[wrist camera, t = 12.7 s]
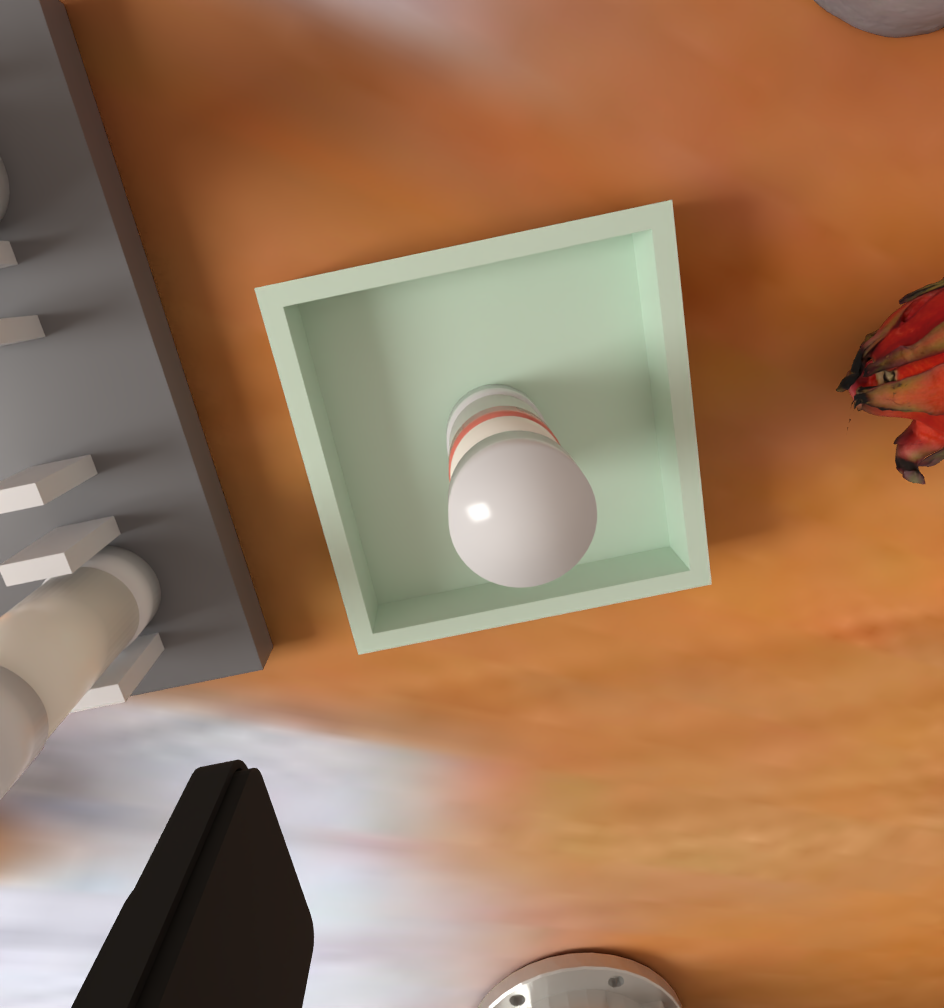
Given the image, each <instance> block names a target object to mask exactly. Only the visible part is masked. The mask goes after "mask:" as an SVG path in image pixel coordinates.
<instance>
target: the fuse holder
mask: <svg viewBox="0 0 944 1008" xmlns="http://www.w3.org/2000/svg"><path fill="white" fill-rule="evenodd" d="M0 157H1V159H2V161H3V164H4V166H5V169H6V172H7V175H8V180H9V190H10V193H9V202H8V207H7V210H6V213H5V215H4V217H3V219H2V220H1V222H0V617H1V616H3V615H4V614H5V613H6V612H8V611H9V610H10V609H12V608H13V607H14V606H15V605H17V604H18V603H19V602H21V601H22V600H23V599H24V598H26V597H27V596H28V595H30V594H31V593H32V592H33V591H35V590H36V589H37V588H39V587H40V586H41V585H42V584H43V582H44V581H45V580H46V579H47V578H51V577H56V576H61V575H66V574H71V573H73V572H74V571H76V570H77V569H78V568H79V567H81V566H82V565H83V564H84V563H85V562H87V561H88V560H89V559H90V558H92V557H93V556H94V555H95V554H97V553H98V552H99V551H100V550H101V549H103V548H104V547H105V546H106V545H108V546H116V547H120V548H123V549H126V550H129V551H131V552H133V553H135V554H136V555H138V556H139V557H141V558H142V559H143V560H144V561H145V562H146V563H147V564H148V565H149V566H150V567H151V568H152V569H153V571H154V573H155V574H156V576H157V578H158V581H159V584H160V588H161V602H160V606H159V609H158V611H157V613H156V614H155V616H154V617H153V619H152V620H151V621H150V622H149V623H148V625H147V626H146V627H145V628H144V629H143V631H142V632H141V633H140V634H139V635H138V637H137V638H136V639H135V640H134V641H133V642H132V643H131V644H130V645H129V646H128V647H127V648H126V649H124V650H122V651H121V653H120V654H119V655H118V656H117V657H116V659H115V660H114V661H113V662H112V663H111V664H110V666H109V667H108V668H107V669H106V670H105V672H104V673H103V674H102V675H101V676H100V677H99V679H98V680H97V681H96V682H95V683H94V685H93V686H92V687H91V688H90V689H89V690H88V692H87V693H86V694H85V695H84V696H83V698H82V699H81V700H80V701H79V702H78V703H77V705H76V706H75V707H74V708H73V709H72V710H71V712H70V713H73V712H78V711H83V710H88V709H93V708H98V707H103V706H108V705H113V704H118V703H123V702H126V700H127V699H128V698H129V696H133V695H138V694H143V693H148V692H153V691H158V690H163V689H168V688H173V687H179V686H184V685H189V684H194V683H199V682H204V681H209V680H214V679H219V678H224V677H229V676H234V675H239V674H244V673H249V672H254V671H259V670H263V669H264V666H265V664H266V662H267V660H268V657H269V655H270V653H271V651H272V649H273V644H272V641H271V638H270V635H269V632H268V629H267V626H266V623H265V620H264V617H263V614H262V611H261V608H260V605H259V601H258V598H257V595H256V592H255V589H254V586H253V583H252V580H251V577H250V574H249V571H248V568H247V565H246V562H245V559H244V555H243V552H242V549H241V546H240V543H239V540H238V537H237V534H236V531H235V528H234V525H233V522H232V519H231V516H230V512H229V509H228V506H227V503H226V500H225V497H224V494H223V491H222V488H221V485H220V482H219V479H218V476H217V473H216V470H215V466H214V463H213V460H212V457H211V454H210V451H209V448H208V445H207V442H206V439H205V436H204V433H203V430H202V427H201V424H200V420H199V417H198V414H197V411H196V408H195V405H194V402H193V399H192V396H191V393H190V390H189V387H188V384H187V381H186V378H185V374H184V371H183V368H182V365H181V362H180V359H179V356H178V353H177V350H176V347H175V344H174V341H173V338H172V335H171V331H170V328H169V325H168V322H167V319H166V316H165V313H164V310H163V307H162V304H161V301H160V298H159V295H158V292H157V289H156V285H155V282H154V279H153V276H152V273H151V270H150V267H149V264H148V261H147V258H146V255H145V252H144V249H143V246H142V243H141V239H140V236H139V233H138V230H137V227H136V224H135V221H134V218H133V215H132V212H131V209H130V206H129V203H128V200H127V197H126V193H125V190H124V187H123V184H122V181H121V178H120V175H119V172H118V169H117V166H116V163H115V160H114V157H113V154H112V150H111V147H110V144H109V141H108V138H107V135H106V132H105V129H104V126H103V123H102V120H101V117H100V114H99V111H98V108H97V104H96V101H95V98H94V95H93V92H92V89H91V86H90V83H89V80H88V77H87V74H86V71H85V68H84V65H83V62H82V58H81V55H80V52H79V49H78V46H77V43H76V40H75V37H74V34H73V31H72V28H71V25H70V22H69V19H68V15H67V12H66V9H65V6H64V4H63V3H61V2H60V1H59V0H0Z"/></svg>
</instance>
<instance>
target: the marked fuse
mask: <svg viewBox="0 0 944 1008" xmlns="http://www.w3.org/2000/svg"><path fill="white" fill-rule="evenodd" d="M446 439H447V452H448V456H449V457H448V459H449V481H450V484H449V490H448V519H449V531H450V536H451V539H452V542H453V545H454V547H455V549H456V551H457V553H458V554H459V556H460V558H461V559H462V560H463V561H464V563H465V564H466V565H467V566H468V567H469V568H470V569H471V570H472V571H473V572H475V573H476V574H478V575H479V576H481V577H482V578H484V579H486V580H488V581H490V582H493V583H496V584H498V585H503V586H507V587H516V588H523V587H533V586H538V585H542V584H545V583H548V582H551V581H553V580H555V579H557V578H559V577H561V576H562V575H564V574H565V573H567V572H568V571H569V570H571V569H572V568H573V567H574V566H575V565H576V564H577V563H578V562H579V561H580V560H581V558H582V557H583V556H584V554H585V553H586V551H587V550H588V548H589V546H590V544H591V542H592V539H593V536H594V534H595V530H596V524H597V504H596V500H595V496H594V493H593V490H592V488H591V486H590V484H589V482H588V480H587V478H586V477H585V476H584V474H583V473H582V471H581V470H580V468H579V467H578V466H577V464H576V463H575V461H574V460H573V459H572V457H571V456H570V455H569V453H568V452H567V451H566V450H565V449H564V448H563V447H562V446H561V445H560V443H559V442H558V440H557V438H556V437H555V436H554V434H553V433H552V431H551V430H550V428H549V427H548V426H547V424H546V422H545V420H544V418H543V416H542V414H541V413H540V412H539V410H538V409H537V407H536V406H535V405H534V403H533V402H532V401H531V399H530V398H529V397H528V396H527V395H525V394H524V393H523V392H521V391H519V390H518V389H516V388H513V387H511V386H507V385H502V384H488V385H483V386H480V387H477V388H475V389H473V390H471V391H469V392H467V393H466V394H465V395H464V396H462V397H461V398H460V399H459V400H458V402H457V403H456V404H455V406H454V407H453V409H452V411H451V413H450V415H449V418H448V422H447V428H446Z"/></svg>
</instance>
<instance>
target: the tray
mask: <svg viewBox="0 0 944 1008" xmlns="http://www.w3.org/2000/svg"><path fill="white" fill-rule="evenodd" d="M254 289H255V293H256V296H257V300H258V303H259V307H260V310H261V314H262V317H263V321H264V324H265V328H266V331H267V335H268V338H269V342H270V345H271V349H272V352H273V356H274V359H275V363H276V366H277V370H278V373H279V377H280V380H281V384H282V388H283V391H284V395H285V398H286V402H287V405H288V409H289V412H290V416H291V419H292V423H293V426H294V430H295V433H296V437H297V440H298V444H299V447H300V451H301V454H302V458H303V461H304V465H305V468H306V472H307V475H308V479H309V482H310V486H311V490H312V493H313V497H314V500H315V504H316V507H317V511H318V514H319V518H320V521H321V525H322V528H323V532H324V535H325V539H326V542H327V546H328V549H329V553H330V556H331V560H332V563H333V567H334V570H335V574H336V577H337V581H338V585H339V588H340V592H341V595H342V599H343V602H344V606H345V609H346V613H347V616H348V620H349V623H350V627H351V630H352V634H353V637H354V641H355V644H356V648H357V651H358V655H360V654H365V653H370V652H375V651H380V650H385V649H390V648H395V647H400V646H405V645H410V644H415V643H420V642H425V641H430V640H435V639H440V638H445V637H450V636H455V635H460V634H465V633H470V632H475V631H480V630H485V629H490V628H495V627H500V626H505V625H510V624H515V623H520V622H525V621H530V620H535V619H540V618H545V617H550V616H555V615H560V614H565V613H570V612H575V611H580V610H585V609H590V608H595V607H600V606H605V605H610V604H615V603H620V602H625V601H630V600H635V599H640V598H645V597H650V596H655V595H660V594H665V593H670V592H675V591H680V590H685V589H690V588H695V587H700V586H705V585H710V584H711V574H710V564H709V555H708V545H707V535H706V525H705V516H704V506H703V496H702V486H701V477H700V467H699V457H698V447H697V438H696V428H695V418H694V408H693V399H692V389H691V379H690V369H689V360H688V350H687V340H686V330H685V321H684V311H683V301H682V291H681V282H680V272H679V262H678V252H677V243H676V233H675V223H674V213H673V204H672V200H669V201H664V202H659V203H655V204H650V205H645V206H641V207H636V208H631V209H626V210H622V211H617V212H612V213H607V214H603V215H598V216H593V217H589V218H584V219H579V220H574V221H570V222H565V223H560V224H556V225H551V226H546V227H541V228H537V229H532V230H527V231H522V232H518V233H513V234H508V235H504V236H499V237H494V238H489V239H485V240H480V241H475V242H471V243H466V244H461V245H456V246H452V247H447V248H442V249H437V250H433V251H428V252H423V253H419V254H414V255H409V256H404V257H400V258H395V259H390V260H386V261H381V262H376V263H371V264H367V265H362V266H357V267H352V268H348V269H343V270H338V271H334V272H329V273H324V274H319V275H315V276H310V277H305V278H301V279H296V280H291V281H286V282H282V283H277V284H272V285H267V286H263V287H258V288H254ZM488 384H502V385H507V386H511V387H513V388H516V389H518V390H519V391H521V392H523V393H524V394H525V395H527V396H528V397H529V398H530V399H531V401H532V402H533V403H534V405H535V406H536V407H537V409H538V410H539V412H540V413H541V414H542V416H543V418H544V420H545V422H546V424H547V426H548V427H549V428H550V430H551V431H552V433H553V434H554V436H555V437H556V438H557V440H558V442H559V443H560V445H561V446H562V447H563V448H564V449H565V450H566V451H567V452H568V453H569V455H570V456H571V457H572V459H573V460H574V461H575V463H576V464H577V466H578V467H579V468H580V470H581V471H582V473H583V474H584V476H585V477H586V478H587V480H588V482H589V484H590V486H591V488H592V490H593V493H594V496H595V500H596V504H597V524H596V530H595V534H594V536H593V539H592V542H591V544H590V546H589V548H588V550H587V551H586V553H585V554H584V556H583V557H582V558H581V560H580V561H579V562H578V563H577V564H576V565H575V566H574V567H573V568H572V569H571V570H569V571H568V572H567V573H565V574H564V575H562V576H561V577H559V578H557V579H555V580H553V581H551V582H548V583H545V584H542V585H538V586H533V587H523V588H516V587H507V586H503V585H498V584H496V583H493V582H490V581H488V580H486V579H484V578H482V577H481V576H479V575H478V574H476V573H475V572H473V571H472V570H471V569H470V568H469V567H468V566H467V565H466V564H465V563H464V561H463V560H462V559H461V558H460V556H459V554H458V553H457V551H456V549H455V547H454V545H453V542H452V539H451V536H450V531H449V519H448V490H449V484H450V481H449V459H448V457H449V456H448V452H447V439H446V428H447V422H448V418H449V415H450V413H451V411H452V409H453V407H454V406H455V404H456V403H457V402H458V400H459V399H460V398H461V397H462V396H464V395H465V394H466V393H467V392H469V391H471V390H473V389H475V388H477V387H480V386H483V385H488Z"/></svg>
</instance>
